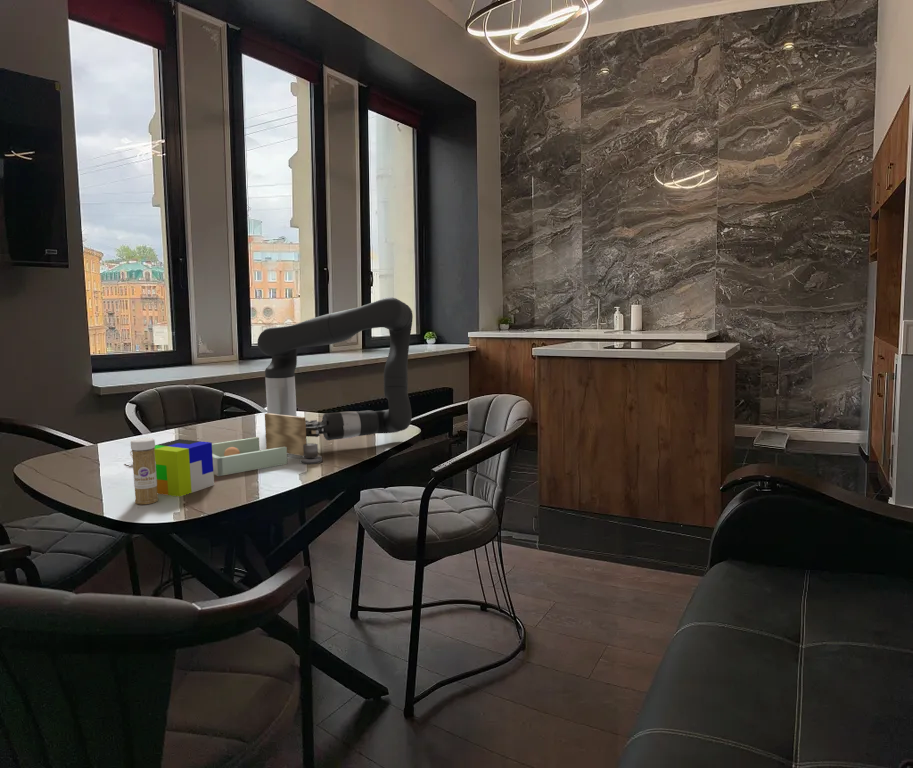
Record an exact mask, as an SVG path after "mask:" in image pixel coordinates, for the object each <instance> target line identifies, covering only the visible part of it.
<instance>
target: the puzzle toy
mask: <svg viewBox="0 0 913 768" xmlns="http://www.w3.org/2000/svg"><path fill="white" fill-rule="evenodd" d="M212 444H213V443H212V442H209V441H202V440H201V441H200V440H192V439H182V438H181V439H175V440H170V441H166V442H163V443H159V444H155V450H154V451H155V462H156V475H157V493H158V494H157V495H165V496H170V495H171V496H173V497H177V496H179V497H180V496H181V497H183V495H184V496H186V494H187V495H189V493H190V494H192V493H196V492H198V491H201V490H203V489H207V488H209V487H212V486H215V474H214V473H213V456H212ZM179 497H178V498H179Z"/></svg>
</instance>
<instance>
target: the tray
mask: <svg viewBox="0 0 913 768" xmlns="http://www.w3.org/2000/svg"><path fill="white" fill-rule="evenodd" d="M229 447H235V448H237V449H238V450H239V451H240V454H236V455H230V456H224V452H225V450H226V449H227V448H229ZM212 456H213V473H214V476H217V477H221V476H226V475H227V476H228V475H232V474H238V473H242V472H243V473H245V472H248V471H250V472H251V471H254V470H259V469H265V468H270V467H271V468H272V467H277V466H283V465H287V464H288V453H287V447H279V448H273V449H267V450H266V449H261V450H260V437H258V436H255V437H249V438H248V437H247V438H243V439H234V440H229V441H221V442H215V443H212Z"/></svg>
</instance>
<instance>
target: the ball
mask: <svg viewBox="0 0 913 768" xmlns="http://www.w3.org/2000/svg"><path fill="white" fill-rule="evenodd" d="M236 454H240V451H239V450H238V449H237V448H235V447H229V448H227V449H226V450H225V452H224V456H230V455H236Z"/></svg>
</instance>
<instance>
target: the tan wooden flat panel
mask: <svg viewBox="0 0 913 768" xmlns="http://www.w3.org/2000/svg"><path fill="white" fill-rule="evenodd" d="M264 426H265V427H264V428H265V429H264V430H265V445H266V449H265V450H267V449H273V448H279V447H287V455H288V454H290V455H295V456H300V457H303V456H304V457H305V458H314V457H317V456H319V449H318V446H319V445H318V444H317V443H314V442H313V443H307V436H306V417H304V416H289V415H280V414H272V413H267V412H266V413H264Z"/></svg>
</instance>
